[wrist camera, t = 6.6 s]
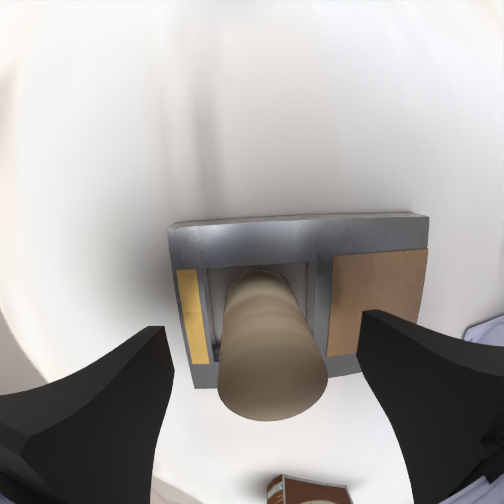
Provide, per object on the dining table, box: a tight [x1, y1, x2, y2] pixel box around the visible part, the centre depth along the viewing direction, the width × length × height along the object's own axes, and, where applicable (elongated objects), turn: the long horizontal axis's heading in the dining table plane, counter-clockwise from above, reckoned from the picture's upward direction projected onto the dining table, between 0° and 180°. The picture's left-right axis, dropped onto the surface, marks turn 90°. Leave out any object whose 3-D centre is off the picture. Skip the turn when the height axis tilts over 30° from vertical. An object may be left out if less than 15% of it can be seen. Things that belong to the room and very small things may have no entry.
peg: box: [217, 269, 328, 421], centre depth 10 cm, size 3×3×6 cm
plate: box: [167, 213, 429, 389], centre depth 12 cm, size 8×12×2 cm
